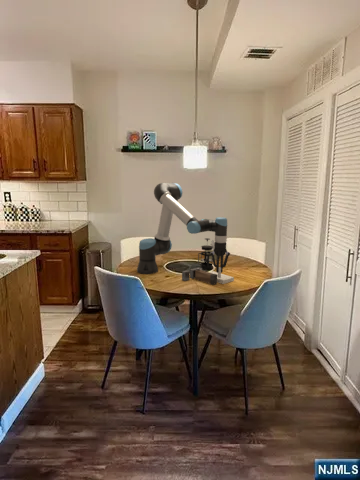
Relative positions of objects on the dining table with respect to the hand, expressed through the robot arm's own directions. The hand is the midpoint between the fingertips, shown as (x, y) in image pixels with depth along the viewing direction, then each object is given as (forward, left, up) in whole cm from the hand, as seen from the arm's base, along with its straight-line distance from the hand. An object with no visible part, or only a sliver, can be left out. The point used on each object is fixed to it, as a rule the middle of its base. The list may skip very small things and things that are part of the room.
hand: (219, 277), depth 210 cm
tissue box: (+49, +51, -4) cm, 70 cm away
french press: (+19, +30, -4) cm, 36 cm away
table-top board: (+5, +6, -4) cm, 9 cm away
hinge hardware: (-7, +17, -4) cm, 18 cm away
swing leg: (-5, +7, -4) cm, 9 cm away
